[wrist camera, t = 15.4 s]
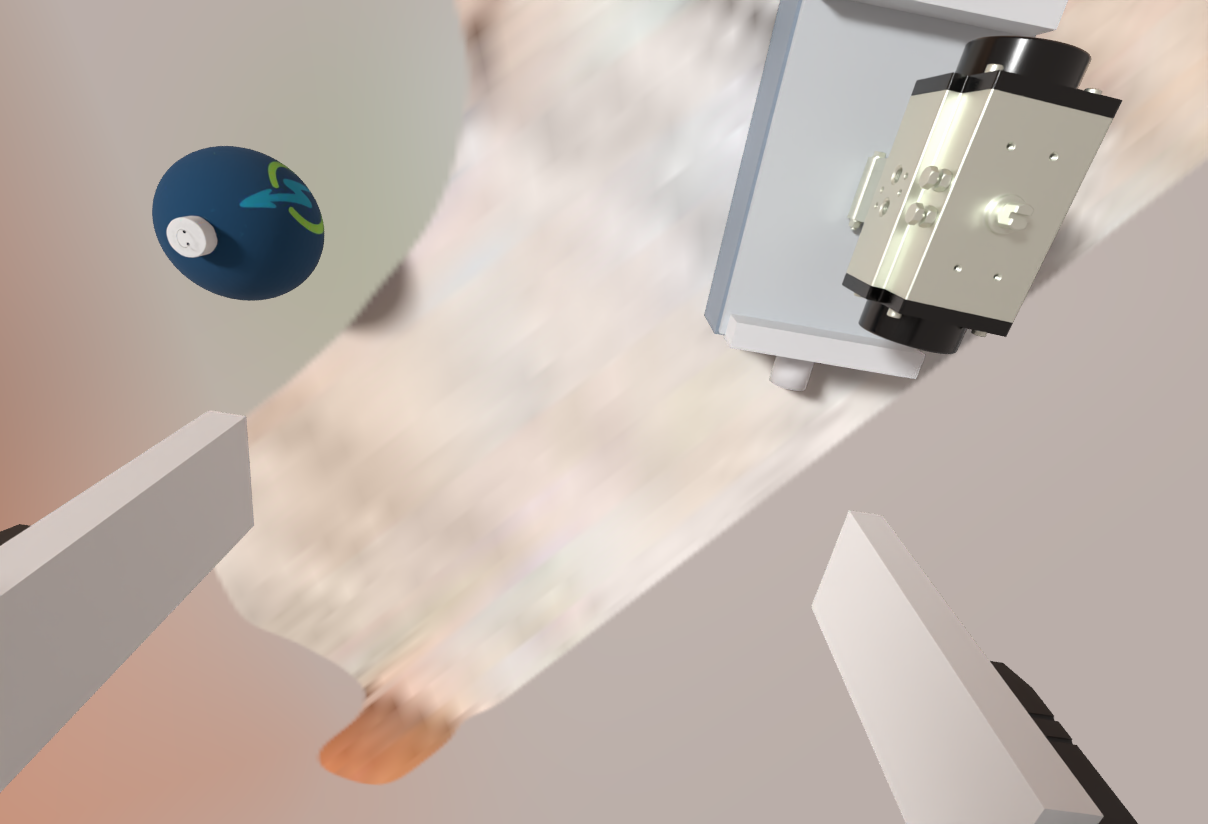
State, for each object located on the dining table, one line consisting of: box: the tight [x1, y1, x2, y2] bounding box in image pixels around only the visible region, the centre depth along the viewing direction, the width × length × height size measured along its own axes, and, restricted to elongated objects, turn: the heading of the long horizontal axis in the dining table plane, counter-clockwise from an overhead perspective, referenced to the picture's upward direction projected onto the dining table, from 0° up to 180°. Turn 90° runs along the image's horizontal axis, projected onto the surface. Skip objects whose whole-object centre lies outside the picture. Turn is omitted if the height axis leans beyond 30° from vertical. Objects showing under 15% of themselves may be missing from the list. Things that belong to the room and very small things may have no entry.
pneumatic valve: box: [842, 36, 1122, 354], centre depth 27 cm, size 6×12×12 cm, turn 168°
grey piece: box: [704, 0, 1068, 391], centre depth 35 cm, size 22×12×7 cm, turn 170°
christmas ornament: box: [152, 146, 324, 300], centre depth 34 cm, size 8×8×10 cm
